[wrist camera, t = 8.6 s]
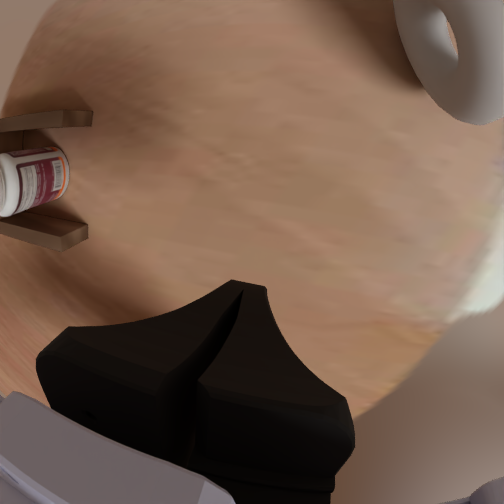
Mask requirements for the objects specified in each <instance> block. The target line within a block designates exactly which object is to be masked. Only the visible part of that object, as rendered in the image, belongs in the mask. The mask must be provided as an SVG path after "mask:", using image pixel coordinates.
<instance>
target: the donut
mask: <svg viewBox="0 0 504 504" xmlns="http://www.w3.org/2000/svg"><path fill="white" fill-rule="evenodd" d="M393 6H394V12H395V19H396V24H397V27H398V31H399V35H400V38H401V41H402V44H403V46H404V49H405V52H406V54H407V57H408V59H409V61H410V63H411V65H412V67H413V69H414V71H415V73H416V75H417V77H418V78H419V80H420V82H421V83H422V85H423V86H424V88H425V90H426V91H427V93H428V94H429V95H430V96H431V97H432V99H433V100H434V101H435V102H436V103H437V105H438V106H439V107H441V108H442V109H443V110H444V111H446V112H447V113H448V114H450V115H451V116H452V117H454V118H455V119H457V120H460V121H462V122H466V123H470V124H474V125H485V124H488V123H490V122H493V121H496V120H498V119H500V118H503V117H504V3H503V1H502V0H393ZM446 19H447V20H448V22H449V23H450V25H451V28H452V30H453V33H454V36H455V38H456V43H457V49H458V55H457V53H456V51H455V49H454V47H453V45H452V42H451V39H450V37H449V33H448V28H447V20H446Z"/></svg>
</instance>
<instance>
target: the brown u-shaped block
mask: <svg viewBox="0 0 504 504" xmlns="http://www.w3.org/2000/svg"><path fill="white" fill-rule="evenodd" d="M92 115H93V111H79V110H57V111H48V112H40V113H33V114H26V115H19V116H14V117H8V118H2V119H0V154H2V153H8V152H14V151H20V150H23V132H24V130H31V129H44V128H60V127H85V126H91V124H92ZM0 234H3V235H6V236H9V237H12V238H16V239H19V240H22V241H25V242H29V243H32V244H35V245H39V246H42V247H45V248H49V249H52V250H56V251H59V252H63V251H65V250H67V249H69V248H71V247H72V246H74V245H76V244H78V243H80V242H82V241H84V240H86V239H88V224H83V223H78V222H73V221H68V220H63V219H58V218H53V217H48V216H43V215H38V214H33V213H29V212H24V211H21V212H19V213H16V214H13V215H11V216H8V217H2V216H0Z"/></svg>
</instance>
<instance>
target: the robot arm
mask: <svg viewBox="0 0 504 504" xmlns="http://www.w3.org/2000/svg"><path fill="white" fill-rule="evenodd" d="M36 371H37V375H38V378H39V381H40V384H41V386H42V388H43V391H44V393H45V395H46V398H47V400H48V402H49V404H50V407H51V408H49V407H48V406H46V405H44V404H43V403H41V402H39V401H38V400H36V399H34V398H32V397H29V396H27V395H25V394H23V393H21V392H16V391H13V392H12V393H10V394H9V395H8V396H7V397H6V398H3V397H2V396H1V395H0V504H330V496H331V493H332V492H333V491H334V488H335V475H336V474H337V472H338V471H339V470H340V468H341V467H342V466H343V465H344V464H345V462H346V461H347V460H348V458H349V457H350V456H351V454H352V452H353V450H354V448H355V431H354V425H353V421H352V417H351V413H350V410H349V406H348V403H347V400H346V398H345V397H344V396H342V395H341V394H339V393H338V392H337V391H335V390H334V389H332V388H331V387H330V386H328V385H327V384H325V383H324V382H323V381H322V380H320V379H319V378H318V377H317V376H316V375H315V374H314V373H312V372H311V371H310V370H309V369H308V368H307V367H306V366H305V365H304V364H303V363H302V361H301V360H300V359H299V358H298V357H297V356H296V355H295V353H294V352H293V351H292V349H291V348H290V347H289V345H288V343H287V342H286V340H285V339H284V337H283V335H282V333H281V332H280V330H279V328H278V326H277V324H276V321H275V319H274V316H273V314H272V311H271V308H270V305H269V301H268V297H267V289H266V287H265V286H261V285H256V284H251V283H246V282H241V281H236V280H230V281H228V282H226V283H225V284H223V285H222V286H220V287H218V288H217V289H215V290H214V291H212V292H210V293H209V294H207V295H205V296H203V297H202V298H200V299H198V300H196V301H194V302H192V303H190V304H188V305H186V306H183V307H181V308H179V309H176V310H174V311H171V312H168V313H165V314H162V315H159V316H156V317H152V318H148V319H144V320H139V321H135V322H130V323H124V324H116V325H107V326H83V327H71V326H69V327H67V328H66V329H65V330H64V331H63V332H62V333H61V334H59V335H58V336H57V337H56V338H55V339H54V340H53V341H52V342H51V343H50V344H49V345H47V346H46V347H45V348H44V349H43V350H42V351H41V352H40V353H39V354H38V356H37V358H36ZM440 504H504V477H501V478H498V479H495V480H492V481H489V482H487V483H486V484H484V485H482V486H481V487H479V488H478V489H477V490H476V491H474V492H473V493H472V494H471V496H470V497H466V498H462V499H458V500H454V501H449V502H445V503H440Z"/></svg>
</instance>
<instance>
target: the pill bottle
mask: <svg viewBox="0 0 504 504" xmlns="http://www.w3.org/2000/svg"><path fill="white" fill-rule="evenodd" d="M68 182H69V165H68V162H67V159H66V157H65V155H64V154H63V152H62V151H61V150H60V149H58V148H56V147H42V148H35V149H28V150H20V151H14V152H8V153H2V154H0V216H2V217H8V216H11V215H13V214H16V213H19V212H21V211H24V210H27V209H29V208H32V207H35V206H38V205H41V204H44V203H47V202H50V201H52V200H55V199H58V198H59V197H60V196H61V195H62V194H63V193H64V192H65V190H66V188H67V185H68Z"/></svg>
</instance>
